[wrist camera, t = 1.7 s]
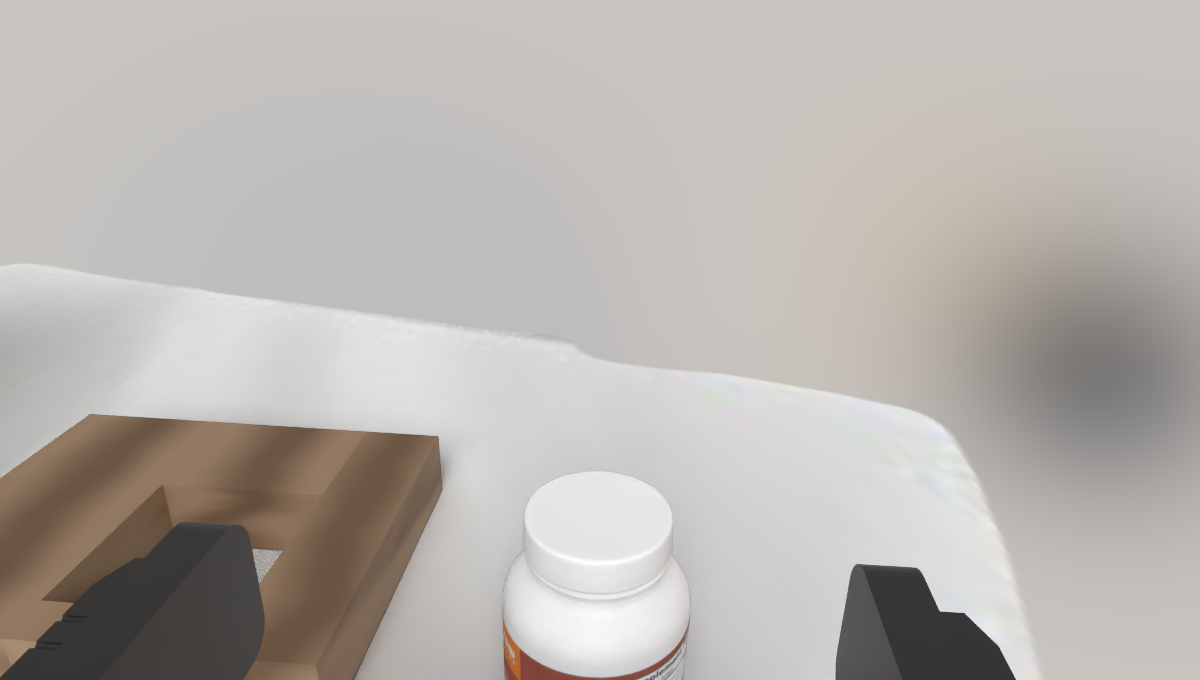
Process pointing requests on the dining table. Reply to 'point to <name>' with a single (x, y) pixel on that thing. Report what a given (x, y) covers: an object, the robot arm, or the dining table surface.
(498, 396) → the dining table surface
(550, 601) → the pill bottle
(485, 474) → the dining table surface
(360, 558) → the socket block
